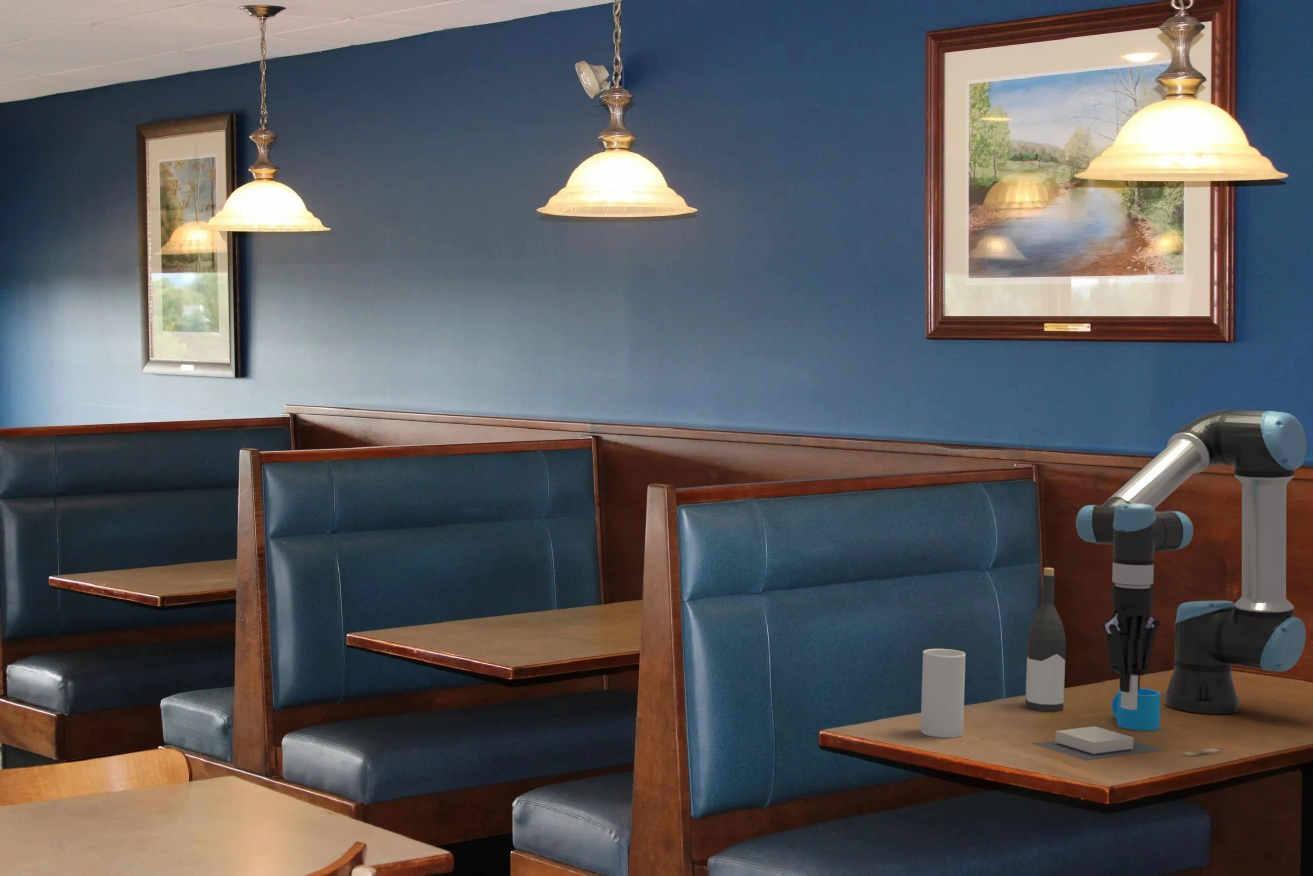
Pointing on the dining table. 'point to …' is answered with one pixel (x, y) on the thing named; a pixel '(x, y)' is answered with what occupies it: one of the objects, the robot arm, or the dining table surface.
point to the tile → (1094, 740)
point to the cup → (943, 693)
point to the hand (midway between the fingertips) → (1128, 708)
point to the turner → (1201, 752)
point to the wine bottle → (1046, 654)
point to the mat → (1136, 749)
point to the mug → (1139, 711)
